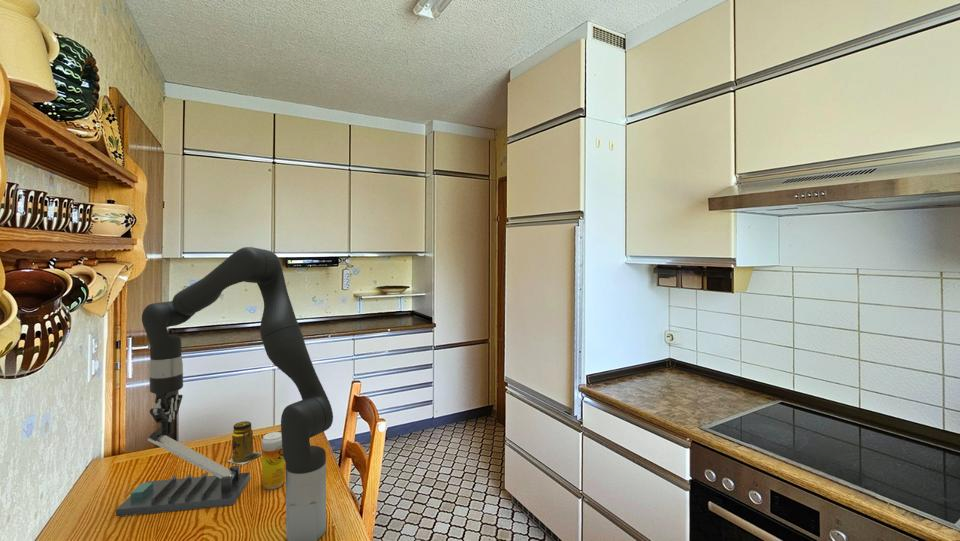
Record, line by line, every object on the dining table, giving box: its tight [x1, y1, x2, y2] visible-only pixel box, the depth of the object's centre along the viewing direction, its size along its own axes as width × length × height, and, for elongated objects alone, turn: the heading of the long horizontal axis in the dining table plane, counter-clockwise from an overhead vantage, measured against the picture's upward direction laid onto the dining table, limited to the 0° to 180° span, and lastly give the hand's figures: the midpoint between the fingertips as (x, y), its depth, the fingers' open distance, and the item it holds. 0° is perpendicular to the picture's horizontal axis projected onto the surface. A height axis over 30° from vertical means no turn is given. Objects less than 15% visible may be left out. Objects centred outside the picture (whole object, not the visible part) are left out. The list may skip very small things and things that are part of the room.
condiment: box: [227, 421, 262, 466], centre depth 143 cm, size 7×8×12 cm
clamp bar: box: [147, 426, 236, 479], centre depth 120 cm, size 5×25×2 cm
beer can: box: [261, 431, 286, 490], centre depth 127 cm, size 6×6×15 cm
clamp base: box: [115, 465, 251, 517], centre depth 120 cm, size 14×28×6 cm, turn 102°
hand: (167, 434), depth 119 cm, fingers closed
